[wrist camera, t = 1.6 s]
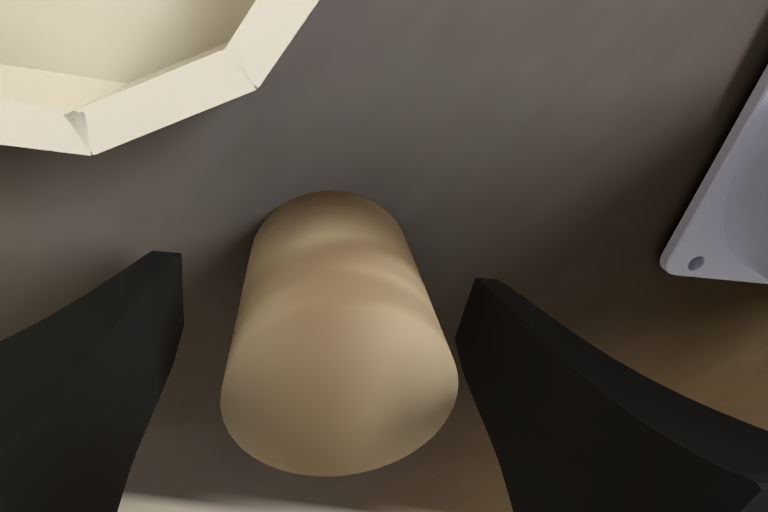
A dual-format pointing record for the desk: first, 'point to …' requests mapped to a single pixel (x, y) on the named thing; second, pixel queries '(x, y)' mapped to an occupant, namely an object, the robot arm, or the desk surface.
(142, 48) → the bowl
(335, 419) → the tan wooden cylinder
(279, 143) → the desk surface
